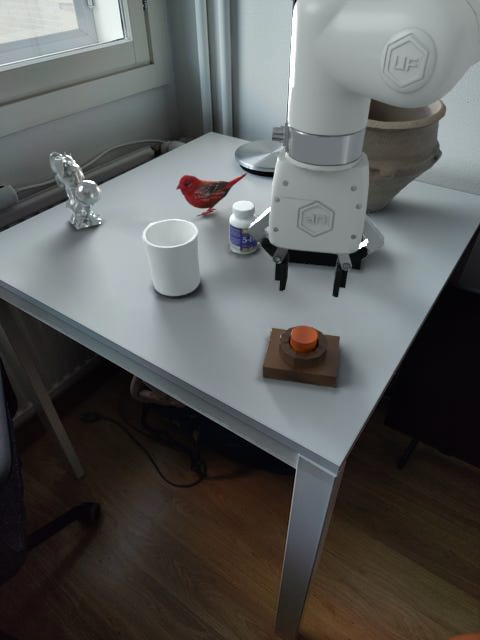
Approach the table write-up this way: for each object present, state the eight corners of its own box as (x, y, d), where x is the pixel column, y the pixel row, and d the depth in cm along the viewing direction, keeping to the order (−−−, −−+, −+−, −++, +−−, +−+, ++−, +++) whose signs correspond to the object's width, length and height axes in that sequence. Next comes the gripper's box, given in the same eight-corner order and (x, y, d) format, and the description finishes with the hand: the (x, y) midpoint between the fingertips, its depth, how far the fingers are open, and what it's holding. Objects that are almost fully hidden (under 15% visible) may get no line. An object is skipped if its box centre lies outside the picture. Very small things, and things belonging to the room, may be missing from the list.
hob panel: (361, 238, 91) (364, 223, 89) (361, 278, 81) (364, 263, 79) (290, 231, 93) (290, 217, 91) (280, 270, 83) (281, 255, 81)
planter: (434, 192, 105) (464, 87, 90) (412, 244, 89) (444, 126, 74) (329, 172, 114) (341, 74, 99) (292, 216, 98) (299, 106, 83)
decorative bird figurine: (176, 221, 97) (170, 176, 90) (243, 197, 105) (242, 153, 98) (183, 227, 95) (178, 181, 89) (251, 201, 103) (251, 158, 96)
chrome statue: (117, 233, 94) (101, 161, 84) (89, 243, 91) (69, 170, 81) (86, 206, 102) (68, 138, 92) (59, 215, 100) (38, 146, 90)
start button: (317, 336, 65) (318, 327, 64) (315, 354, 62) (316, 345, 61) (291, 333, 65) (292, 323, 64) (288, 350, 63) (289, 341, 62)
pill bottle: (244, 258, 86) (244, 215, 80) (224, 248, 89) (222, 206, 83) (263, 246, 89) (264, 204, 83) (243, 237, 92) (242, 196, 86)
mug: (212, 285, 80) (209, 233, 73) (170, 307, 76) (162, 254, 69) (176, 259, 86) (169, 209, 80) (135, 278, 82) (124, 227, 75)
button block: (338, 346, 68) (341, 326, 66) (335, 387, 62) (339, 367, 60) (271, 338, 70) (272, 318, 67) (262, 377, 64) (262, 357, 61)
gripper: (231, 150, 44) (235, 298, 56) (418, 163, 41) (381, 315, 53) (246, 124, 50) (247, 263, 62) (412, 133, 47) (379, 277, 59)
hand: (309, 286), depth 57 cm, fingers open, 5 cm apart
